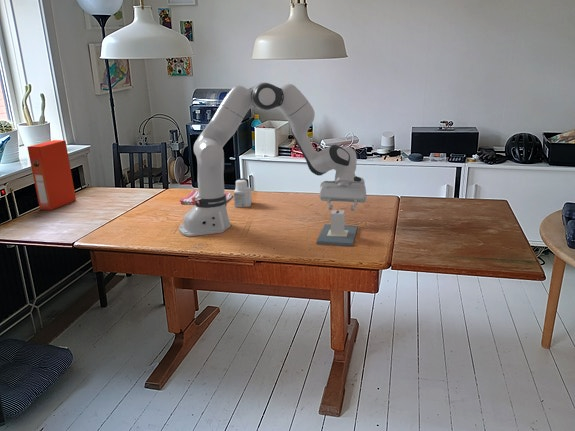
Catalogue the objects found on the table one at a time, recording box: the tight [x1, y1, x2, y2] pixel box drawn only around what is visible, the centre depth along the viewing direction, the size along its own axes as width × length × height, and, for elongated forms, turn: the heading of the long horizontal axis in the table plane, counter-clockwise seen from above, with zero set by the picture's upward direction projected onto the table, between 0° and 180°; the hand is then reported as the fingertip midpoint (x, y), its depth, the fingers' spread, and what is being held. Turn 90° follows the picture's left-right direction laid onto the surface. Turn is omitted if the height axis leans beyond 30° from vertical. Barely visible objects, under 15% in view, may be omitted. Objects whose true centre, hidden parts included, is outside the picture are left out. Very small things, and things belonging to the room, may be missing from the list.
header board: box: [316, 223, 358, 247], centre depth 207 cm, size 20×14×4 cm
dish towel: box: [179, 189, 234, 206], centre depth 262 cm, size 17×23×4 cm
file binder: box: [26, 139, 77, 211], centre depth 257 cm, size 8×17×32 cm, turn 161°
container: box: [233, 177, 253, 208], centre depth 251 cm, size 8×8×13 cm
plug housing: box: [330, 209, 346, 235], centre depth 206 cm, size 4×5×9 cm
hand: (341, 209), depth 217 cm, fingers open, 8 cm apart
